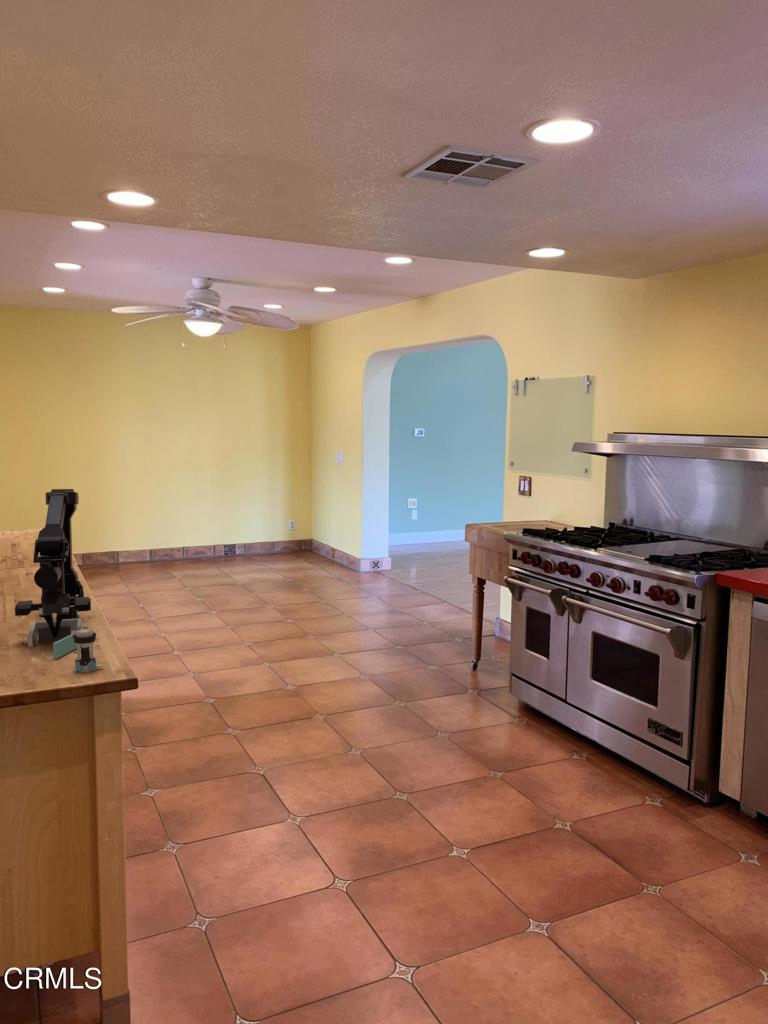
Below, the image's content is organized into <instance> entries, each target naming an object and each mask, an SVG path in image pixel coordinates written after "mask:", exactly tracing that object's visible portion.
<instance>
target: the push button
mask: <svg viewBox="0 0 768 1024" xmlns="http://www.w3.org/2000/svg"><path fill="white" fill-rule="evenodd" d="M76 632H77V633H76V634H74V635H73V638H74V642H75V643H77V648H76V653H77V654H76V655H77V657H76V659H75V661H74V666H75V667H74V668H75V670H74V671H75V673H76V674H79V673H80V674H81V673H89V672H96V671H97V669H99V668H104V666H103V665H101V664H104V662H97V659H96V657H95V656H94V642H95V641H96V637H97V633H96V632H95V631H93V629H91V628H88V629H83V628H82V629H81V630H78V631H77V630H76ZM80 645H81V646H80ZM97 665H99V666H97Z"/></svg>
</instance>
